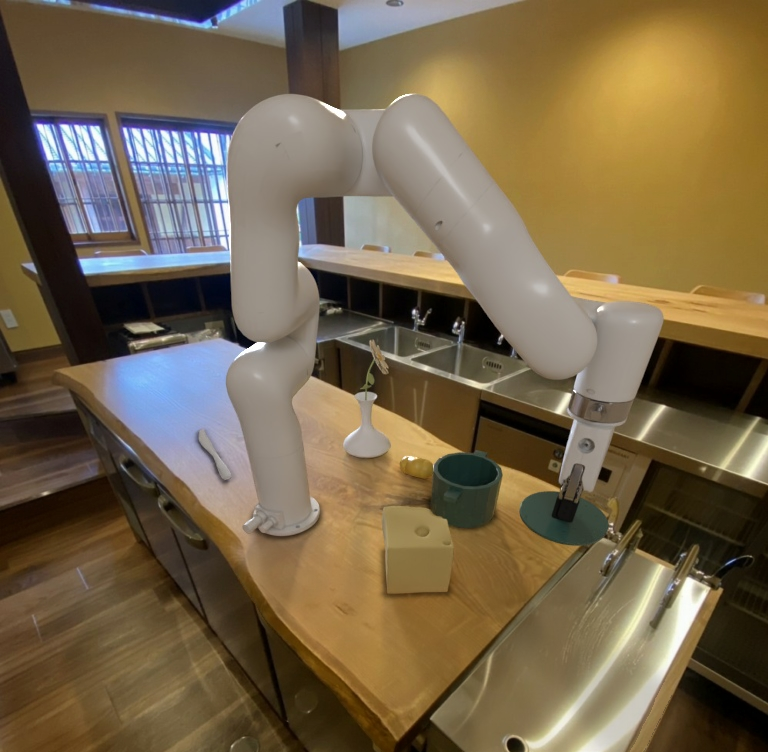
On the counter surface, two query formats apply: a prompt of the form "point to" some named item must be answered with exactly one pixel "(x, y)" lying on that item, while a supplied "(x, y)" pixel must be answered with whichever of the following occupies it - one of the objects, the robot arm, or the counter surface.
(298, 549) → the counter surface
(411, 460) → the yellow capsule
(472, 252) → the robot arm
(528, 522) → the lid
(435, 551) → the cheese
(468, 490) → the pot
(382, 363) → the flower in vase
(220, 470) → the butter knife
